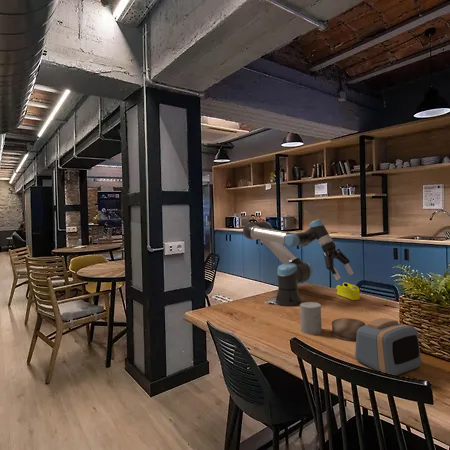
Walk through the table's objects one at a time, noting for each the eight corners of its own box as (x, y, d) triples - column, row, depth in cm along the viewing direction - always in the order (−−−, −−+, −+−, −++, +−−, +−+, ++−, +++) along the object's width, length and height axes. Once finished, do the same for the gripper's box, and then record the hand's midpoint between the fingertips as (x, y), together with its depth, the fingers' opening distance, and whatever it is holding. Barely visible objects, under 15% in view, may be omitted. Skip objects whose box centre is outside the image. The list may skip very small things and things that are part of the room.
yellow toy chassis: (360, 300, 199) (359, 286, 199) (352, 301, 197) (351, 287, 197) (343, 294, 214) (343, 281, 214) (336, 295, 213) (335, 282, 212)
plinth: (326, 336, 146) (326, 325, 145) (337, 326, 157) (337, 316, 157) (361, 343, 136) (360, 331, 136) (370, 332, 148) (370, 321, 148)
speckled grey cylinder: (319, 326, 158) (318, 301, 157) (323, 334, 148) (322, 307, 148) (299, 327, 159) (298, 302, 158) (302, 334, 149) (301, 307, 149)
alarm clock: (391, 380, 107) (390, 332, 107) (352, 360, 122) (351, 318, 121) (423, 368, 114) (422, 323, 113) (383, 351, 129) (382, 311, 128)
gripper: (318, 243, 183) (337, 278, 176) (343, 238, 198) (361, 269, 191) (309, 249, 188) (327, 283, 181) (334, 243, 204) (352, 275, 196)
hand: (345, 276), depth 186 cm, fingers open, 13 cm apart
